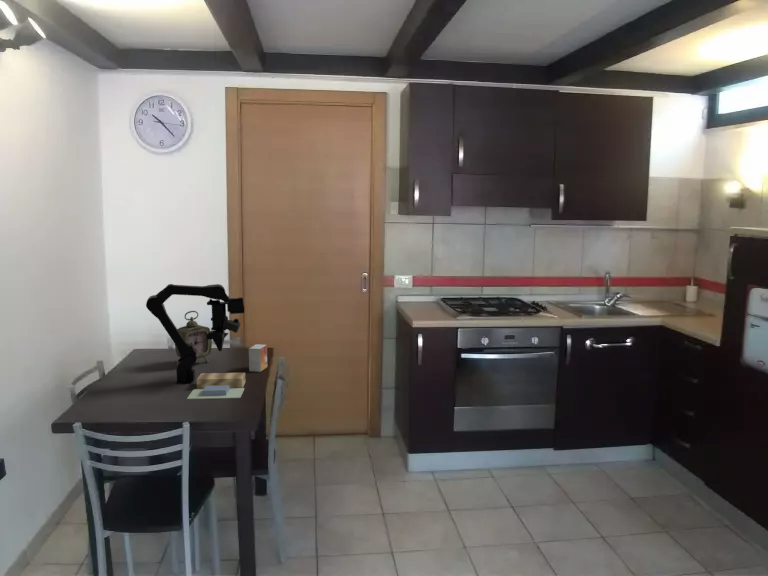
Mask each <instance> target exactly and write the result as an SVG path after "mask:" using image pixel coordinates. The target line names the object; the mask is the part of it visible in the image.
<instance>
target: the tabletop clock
mask: <svg viewBox="0 0 768 576" xmlns="http://www.w3.org/2000/svg"><path fill="white" fill-rule="evenodd" d="M191 313H196V317H193V316H191V317H190V318H186V317H187V316H188V314H191ZM198 317H199V313H198V311H196V310H190V311H187V312H186V313H185V314H184V319H185V320H186V321H187V322H186V325H184V326H180V327H179V328H177V329H178V331H179V333H180V334H181V336H182V337H183V339H184V340H185V341H186V342H187V343H188V344H190V343H191V342H192V344H193V347H194V348H195V349H196V350H197V360H198V359H202V358H203V359H204V362H205V363H209V359H208V358H206V357H207V356H209V355H211V352H212V346H213V345H212V341H213V339H207V334H208V333H209V332H210V331H211V328H210V327H208V326H204V325H202V324H201V325H200V324H198V322H197V321H196V319H198ZM174 349H175V353H176V355H177V357H179V358H180V357H181V356H180V354H179V351H178V348H177V346H176V345H175V344H174Z"/></svg>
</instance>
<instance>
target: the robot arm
mask: <svg viewBox="0 0 768 576" xmlns="http://www.w3.org/2000/svg"><path fill="white" fill-rule="evenodd" d="M174 295H176V296H177V295H178V296H191V297H192V296H193V297H194V296H196V297H204V298H208V299H209V300H208V301H206V306H211V318H210V322H211V323H212V324H211V325H212V326H211V328H210V332H209V333H208V334H207V339H212V341H213V343H214V344H215V347H216V348H217V350H218V352H223V348H224V342H225V338H226V337H227V336H228V335H229V332H230V331H231V332H233V333H235V334H237V333H238V332H239V329H240V328H241V322H240V319H238V318H234V319H231V320H230V319H229V317H228V315H227V312H228V313H229V314H230V315H238V314H241V315H242V314H245V306H244V298H243V297H240V296H239V297H233V298H230V296H229V295H228V294H227V293H226V290H225V287H224V286H223V285H222V284H220V283H219V284H218V283H217V284H208V285H201V286H200V285H183V284H172V283H170V284H167V285H166V286H165V287H164V288H162V290H160V291H158V293H156V294H155V295H153V294H152V295H151V296H149V297H148V298H147V301H146V303H145V306H146V309H147V310H148V311H149V312H150V314H152V315H153V317H155V318H156V319H157V320H158V321H159V322H160V323H161V325H162V327H163V328H164V330H165V331H166V333H167V334H168V336H169V337H170V339H171V340H172V342H173V343H174V346H175V345H176V346H177V348H178V351H179V354H180V356H181V357H179V358H178V360H177V363H176V368H175V370H176V382H175V384H177V385H178V384H179V385H180V384H182V385H183V384H193V382H194V381H195V380H196V370H195V369H194V364H195V363H196V362H197V360H198V359H197V350H196V349H195V348H194V347H193V344H192V342H191V343H190V344H188V343H187V342H186V341H185V340H184V339H183V337H182V336H181V334H180V333H179V331H178V328H177V326H176V325H175V323H174V322H173V320H172V319H171V317H170V316H169V314H168V313H167V310H166V307H165V304H164V303H165V302H166V301H167V300H168V299H169V298H171V297H172V296H174ZM226 307H227V308H226ZM226 330H227V331H229V332H226Z"/></svg>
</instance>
